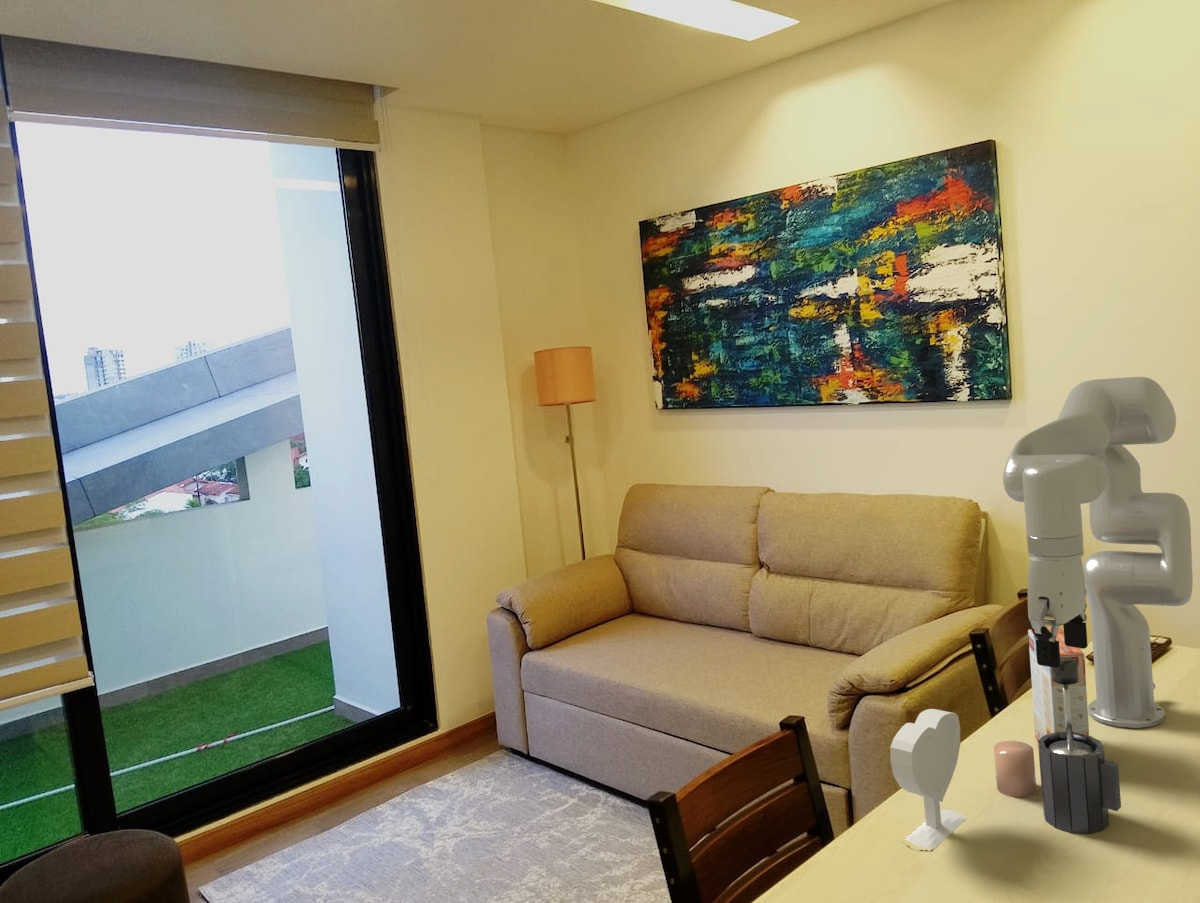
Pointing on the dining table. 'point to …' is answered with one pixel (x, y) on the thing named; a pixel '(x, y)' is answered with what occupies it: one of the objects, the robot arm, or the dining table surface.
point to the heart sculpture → (928, 770)
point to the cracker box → (1057, 693)
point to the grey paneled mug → (1078, 786)
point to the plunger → (1068, 708)
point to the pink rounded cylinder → (1015, 769)
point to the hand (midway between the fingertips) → (1062, 656)
